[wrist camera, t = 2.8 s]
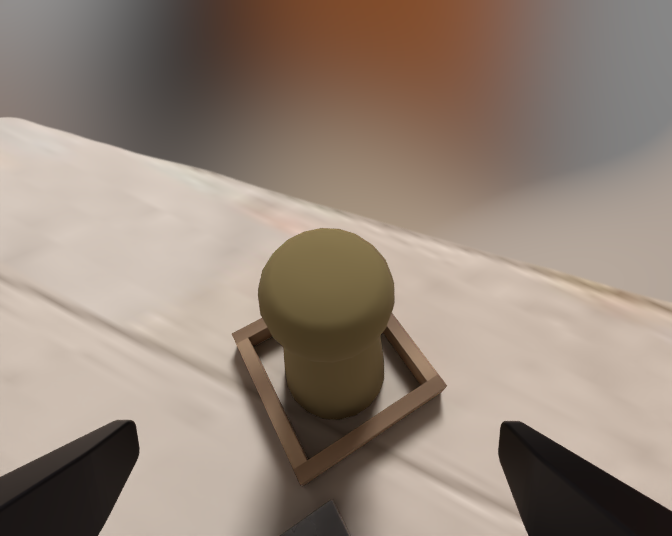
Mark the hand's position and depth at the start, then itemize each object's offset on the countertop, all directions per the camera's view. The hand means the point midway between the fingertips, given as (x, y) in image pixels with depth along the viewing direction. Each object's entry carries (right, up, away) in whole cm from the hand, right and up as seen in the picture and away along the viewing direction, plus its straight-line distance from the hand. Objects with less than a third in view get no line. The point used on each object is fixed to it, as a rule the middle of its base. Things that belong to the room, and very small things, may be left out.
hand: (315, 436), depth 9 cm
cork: (0, -2, +13) cm, 13 cm away
